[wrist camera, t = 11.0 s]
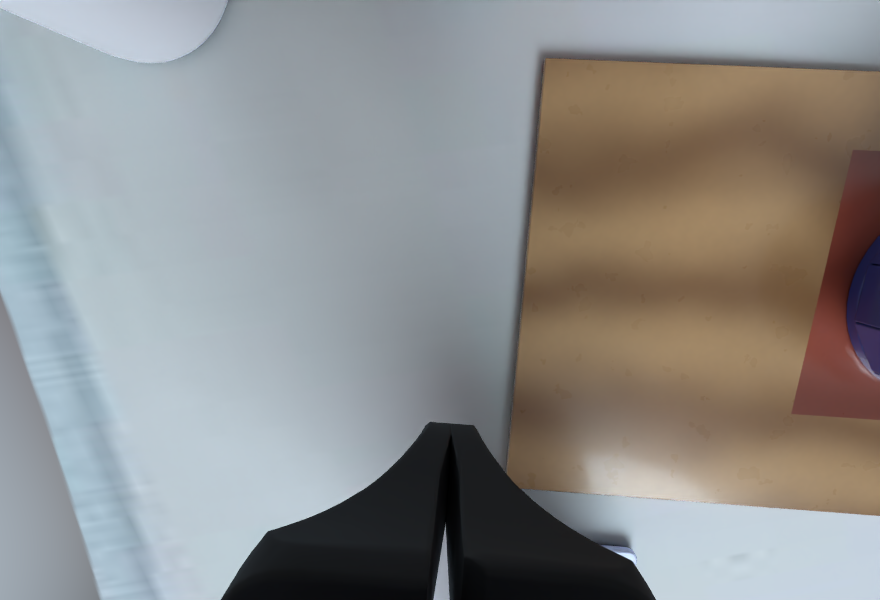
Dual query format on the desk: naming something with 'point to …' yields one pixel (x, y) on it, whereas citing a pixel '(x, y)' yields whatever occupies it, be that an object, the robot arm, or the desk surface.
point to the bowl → (866, 309)
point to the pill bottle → (127, 24)
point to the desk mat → (699, 286)
